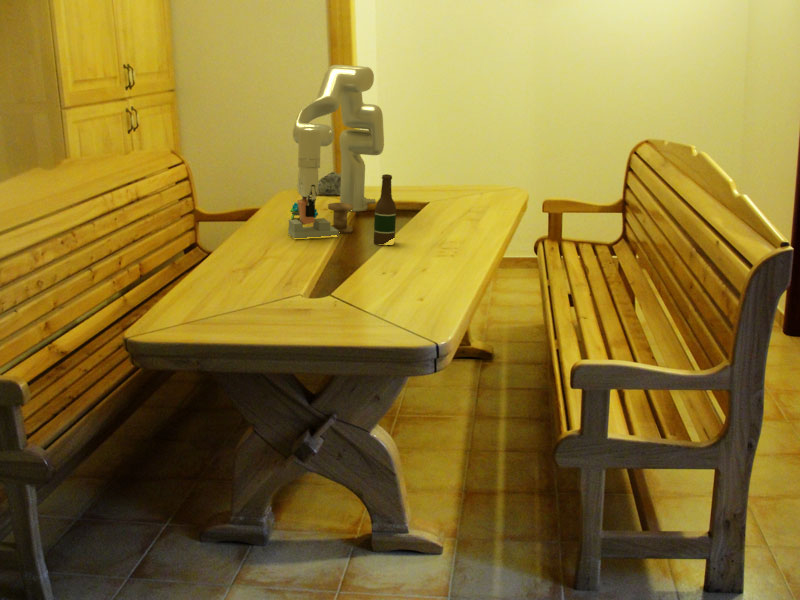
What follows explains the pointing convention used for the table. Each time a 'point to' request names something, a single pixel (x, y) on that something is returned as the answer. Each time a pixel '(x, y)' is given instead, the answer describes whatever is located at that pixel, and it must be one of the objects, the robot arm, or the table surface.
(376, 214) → the beer bottle
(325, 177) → the mineral rock
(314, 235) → the grey notched block
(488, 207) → the table surface
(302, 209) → the orange rectangular block
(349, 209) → the bobbin
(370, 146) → the robot arm
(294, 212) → the teal lobed piece
